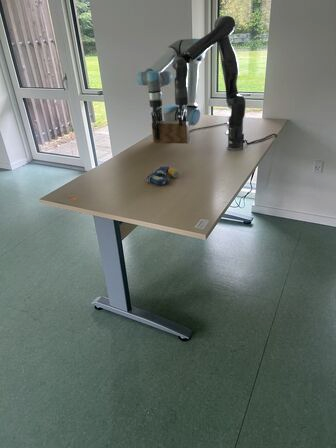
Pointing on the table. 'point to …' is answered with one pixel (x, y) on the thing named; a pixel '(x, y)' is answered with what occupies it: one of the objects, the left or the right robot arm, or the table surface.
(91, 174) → the table surface
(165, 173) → the blue yellow printed carton
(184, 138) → the box
